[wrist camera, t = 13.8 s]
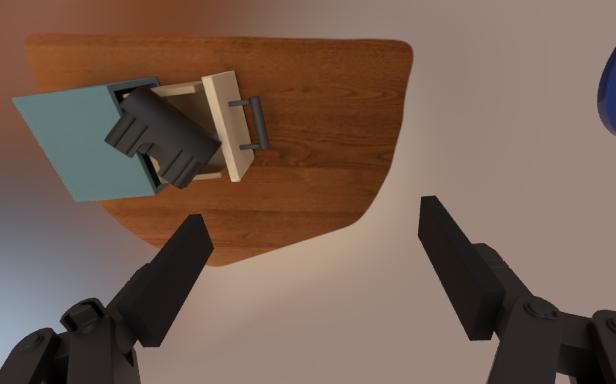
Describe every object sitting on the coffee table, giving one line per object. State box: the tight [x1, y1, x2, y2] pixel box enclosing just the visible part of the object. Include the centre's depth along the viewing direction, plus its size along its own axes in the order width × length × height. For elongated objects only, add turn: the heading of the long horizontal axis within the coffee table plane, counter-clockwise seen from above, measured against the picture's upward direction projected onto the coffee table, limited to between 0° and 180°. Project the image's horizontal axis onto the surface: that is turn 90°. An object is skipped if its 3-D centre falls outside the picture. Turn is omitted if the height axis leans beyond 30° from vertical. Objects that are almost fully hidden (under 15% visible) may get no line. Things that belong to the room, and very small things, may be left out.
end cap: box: [104, 86, 222, 189], centre depth 31 cm, size 10×7×7 cm
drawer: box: [123, 71, 270, 183], centre depth 38 cm, size 16×13×9 cm
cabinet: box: [12, 77, 169, 202], centre depth 39 cm, size 13×15×11 cm
